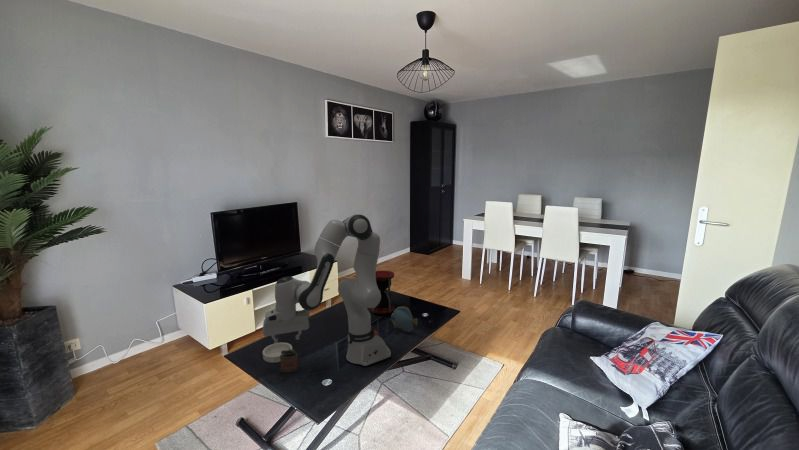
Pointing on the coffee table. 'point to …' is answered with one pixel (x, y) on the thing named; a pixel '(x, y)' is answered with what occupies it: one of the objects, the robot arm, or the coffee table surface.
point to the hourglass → (383, 283)
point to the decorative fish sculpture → (403, 318)
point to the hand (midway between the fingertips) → (286, 341)
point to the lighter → (289, 361)
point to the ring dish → (275, 351)
